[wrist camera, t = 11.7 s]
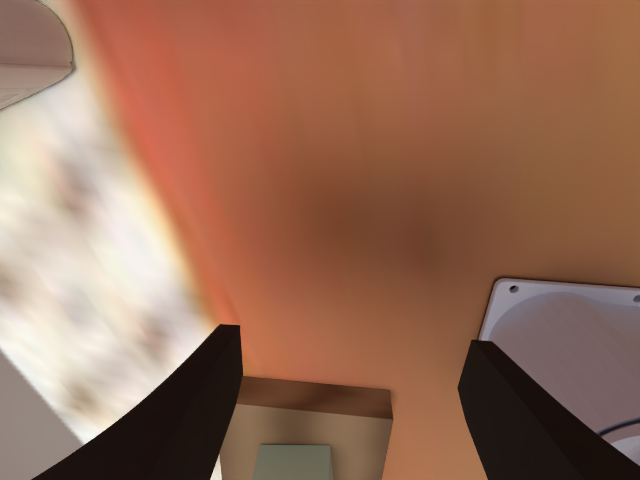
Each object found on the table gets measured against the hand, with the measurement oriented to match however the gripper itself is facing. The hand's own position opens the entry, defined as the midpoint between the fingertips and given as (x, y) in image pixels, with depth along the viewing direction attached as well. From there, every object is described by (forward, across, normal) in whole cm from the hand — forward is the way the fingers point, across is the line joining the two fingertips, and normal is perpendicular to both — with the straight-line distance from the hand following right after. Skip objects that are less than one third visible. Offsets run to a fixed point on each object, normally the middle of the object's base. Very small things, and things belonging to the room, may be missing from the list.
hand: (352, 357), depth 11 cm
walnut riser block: (+11, +2, +19) cm, 22 cm away
